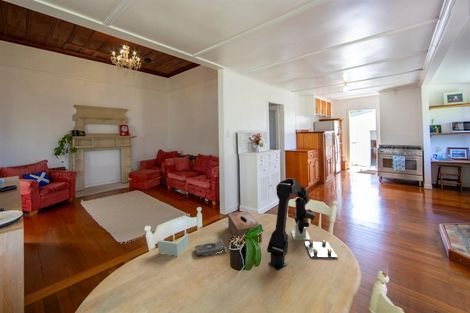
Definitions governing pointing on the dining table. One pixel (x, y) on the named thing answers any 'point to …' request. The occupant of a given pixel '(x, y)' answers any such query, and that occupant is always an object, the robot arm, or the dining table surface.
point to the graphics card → (210, 248)
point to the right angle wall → (173, 246)
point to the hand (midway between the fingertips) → (300, 231)
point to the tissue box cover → (242, 223)
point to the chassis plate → (320, 250)
